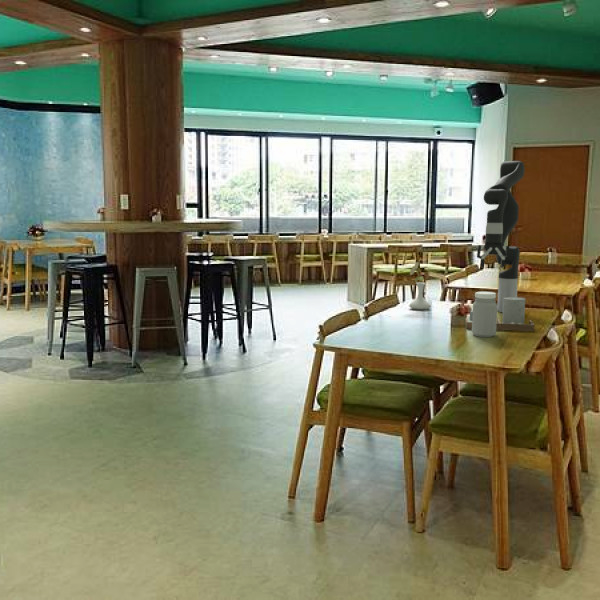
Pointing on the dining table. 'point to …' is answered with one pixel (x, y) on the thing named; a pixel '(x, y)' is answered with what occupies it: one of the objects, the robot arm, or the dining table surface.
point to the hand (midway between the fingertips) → (492, 267)
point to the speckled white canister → (513, 310)
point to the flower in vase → (419, 293)
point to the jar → (484, 314)
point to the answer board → (508, 326)
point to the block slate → (471, 314)
